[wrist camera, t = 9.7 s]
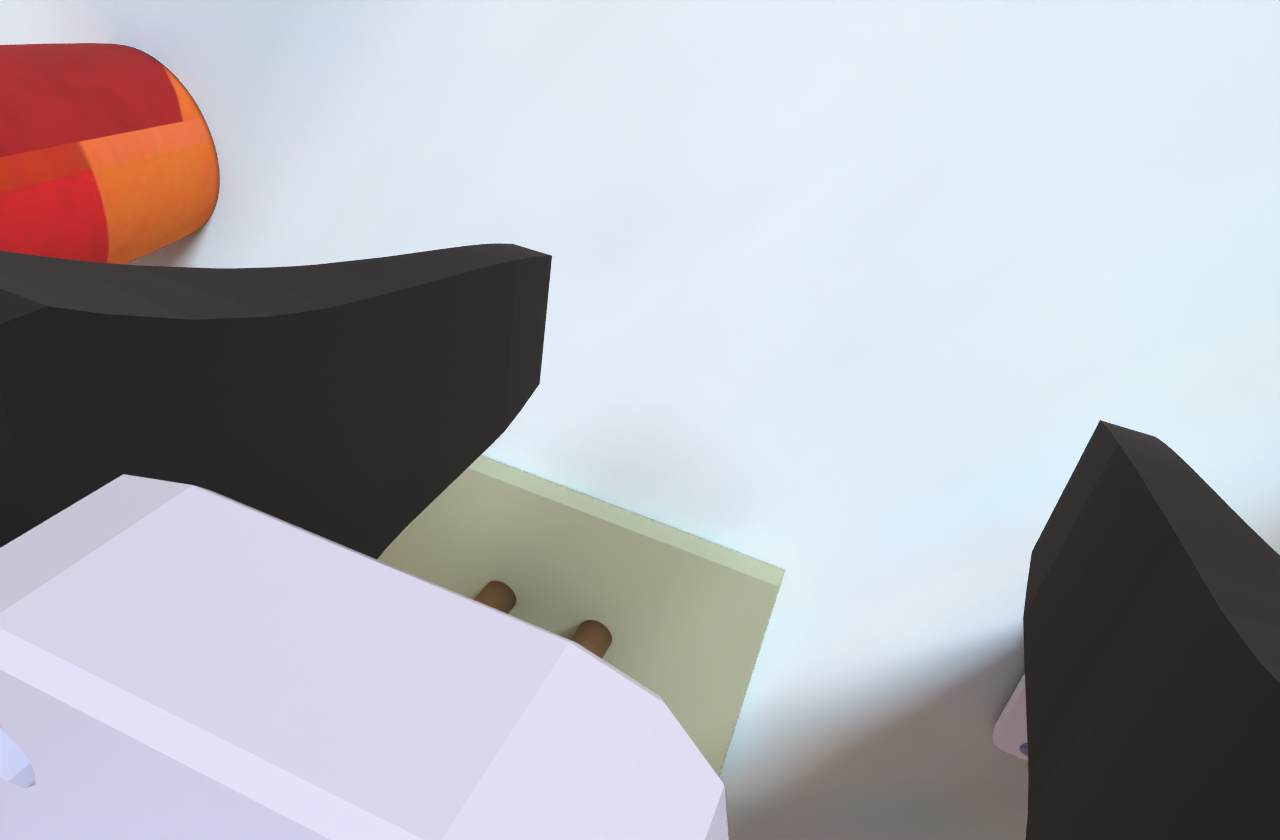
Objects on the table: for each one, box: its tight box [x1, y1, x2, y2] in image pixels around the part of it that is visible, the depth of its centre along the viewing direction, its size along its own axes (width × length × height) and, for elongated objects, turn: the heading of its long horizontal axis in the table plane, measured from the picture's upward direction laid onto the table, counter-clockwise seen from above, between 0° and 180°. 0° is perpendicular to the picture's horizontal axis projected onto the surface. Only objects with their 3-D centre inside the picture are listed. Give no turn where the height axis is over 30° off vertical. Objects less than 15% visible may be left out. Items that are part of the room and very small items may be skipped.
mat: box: [377, 455, 785, 777], centre depth 31 cm, size 14×16×1 cm
